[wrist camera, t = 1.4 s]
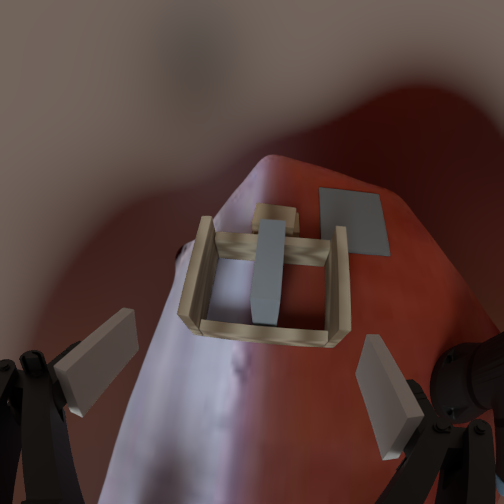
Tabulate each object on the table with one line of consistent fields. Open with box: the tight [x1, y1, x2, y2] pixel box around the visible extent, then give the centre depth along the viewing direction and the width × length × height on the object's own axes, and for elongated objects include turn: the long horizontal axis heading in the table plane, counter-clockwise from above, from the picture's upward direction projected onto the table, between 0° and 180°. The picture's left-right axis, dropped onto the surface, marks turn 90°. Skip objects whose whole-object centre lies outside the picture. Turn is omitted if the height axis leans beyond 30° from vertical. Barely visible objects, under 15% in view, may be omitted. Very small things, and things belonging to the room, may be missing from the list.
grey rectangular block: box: [250, 219, 286, 327], centre depth 42 cm, size 4×12×13 cm, turn 174°
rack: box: [177, 216, 351, 348], centre depth 43 cm, size 23×16×10 cm
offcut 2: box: [254, 213, 300, 238], centre depth 51 cm, size 8×4×2 cm, turn 87°
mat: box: [319, 187, 390, 256], centre depth 55 cm, size 14×16×1 cm
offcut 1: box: [252, 203, 296, 236], centre depth 49 cm, size 7×4×2 cm, turn 79°
